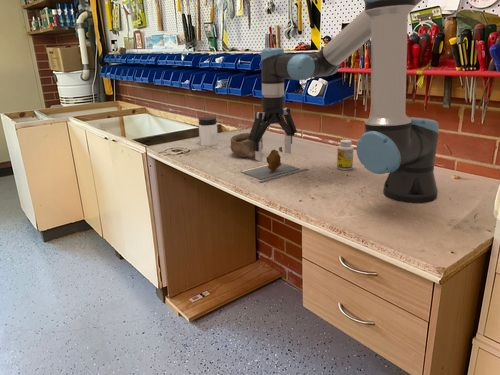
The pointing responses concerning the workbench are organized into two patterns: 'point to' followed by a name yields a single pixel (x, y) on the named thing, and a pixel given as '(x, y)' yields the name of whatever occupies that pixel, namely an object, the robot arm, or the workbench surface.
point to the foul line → (283, 175)
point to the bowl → (243, 145)
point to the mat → (268, 171)
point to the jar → (208, 131)
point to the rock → (274, 159)
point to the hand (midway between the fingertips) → (273, 156)
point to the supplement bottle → (345, 155)
